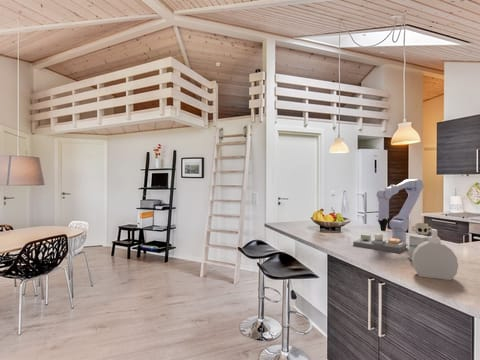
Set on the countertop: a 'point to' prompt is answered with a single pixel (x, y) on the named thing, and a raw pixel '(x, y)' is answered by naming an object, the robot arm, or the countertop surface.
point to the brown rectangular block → (395, 241)
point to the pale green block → (365, 236)
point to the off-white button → (378, 237)
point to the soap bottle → (434, 259)
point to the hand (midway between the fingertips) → (383, 231)
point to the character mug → (421, 228)
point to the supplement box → (415, 242)
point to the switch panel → (380, 245)
